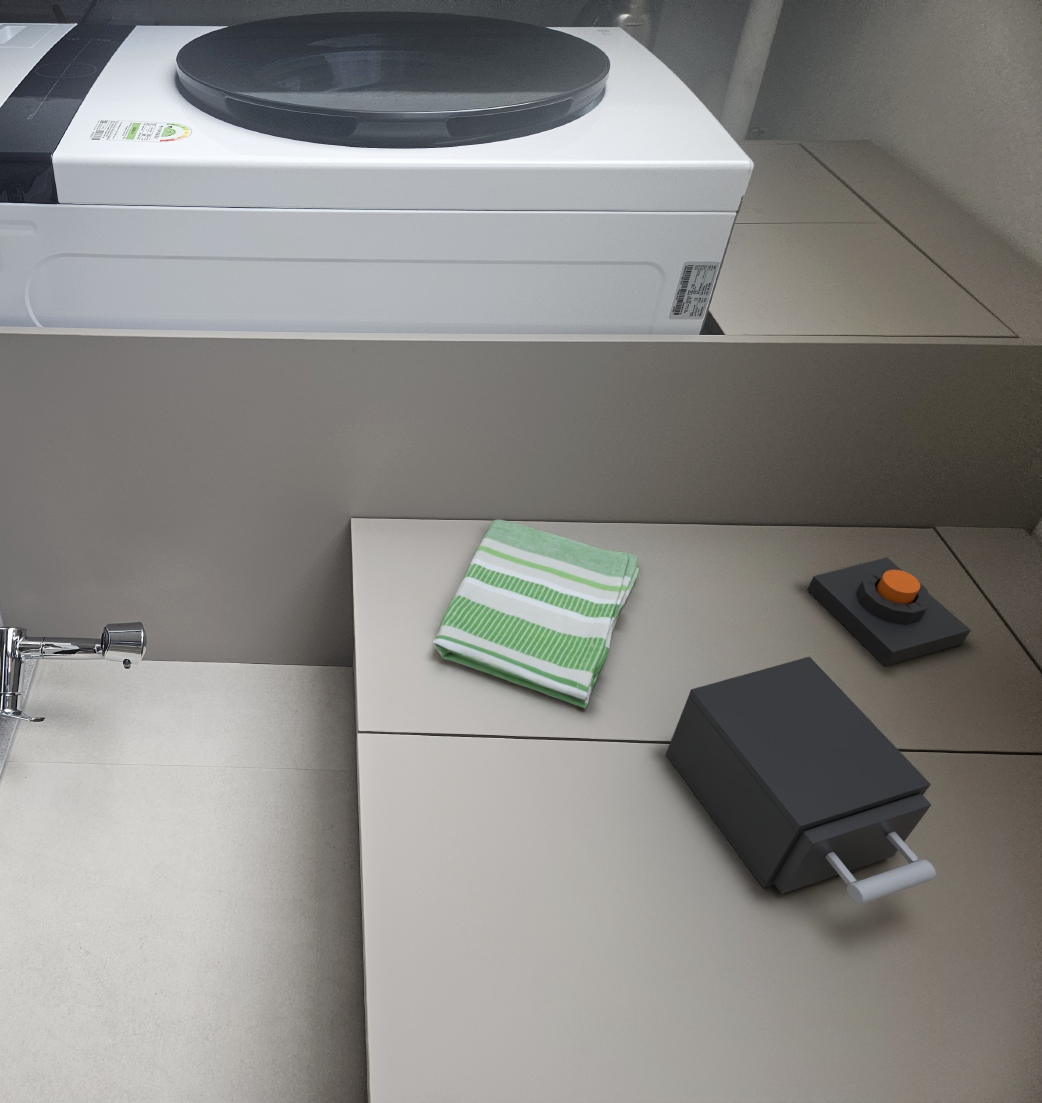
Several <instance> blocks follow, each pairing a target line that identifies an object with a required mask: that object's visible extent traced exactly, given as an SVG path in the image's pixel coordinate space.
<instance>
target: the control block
mask: <svg viewBox="0 0 1042 1103" xmlns="http://www.w3.org/2000/svg"><path fill="white" fill-rule="evenodd" d="M889 570H900V571H903V569H901V567H899V566H898V565H897V564H895V562H894V561H892V560H891V559H890V558H889V557H888V556H887V557H883V558H882V557H881V558H878V559H875V560H871V561H867V562H863V563H860V564H856V565H851V566H848V567H844V568H840V569H836V570H832V571H828V572H824V573H821V574H820V573H819V574H817V575H814V576H813V577H812V579H811V581H810V582H809V585H808V587H807V589H806V590H807V592H808V593H809V594H810V595H812V597H813V598H814V599H816V600H817V601H818V603H819V604H820V605H822V606H823V607H824V608H825V609H826V610H827V612H829V613H830V614H831V616H833V617H834V618H835V620H837V621H838V622H839V623H840V624H841V625H842V626H843V627H844V628H845V629H846V630H847V631H848V632H849V633H850V634H851V635H852V636H853V637H854V638H855V639H856V640H857V641H858V642H859V643H860V644H861V645H862V646H863V647H864V648H865V649H867V651H868V652H869V653H871V655H872V656H873V657H875V659H877V660H878V661H879V663H881V665H883V666H884V667H887V666H890V665H894V664H898V663H901V662H904V661H908V660H911V659H914V658H915V659H916V658H918V657H922V656H926V655H928V654H932V653H936V652H939V651H943V650H946V649H950V648H953V647H957V646H960V645H963V644H964V642H965V641H966V639H967V637H968V636H969V634H970V632H971V631H972V630H971V628H969V627H968V626H967V625H966V624H965V623H964V622H963V621H962V620H960V619H959V618H958V617H957V616H956V615H954V614H953V612H951V611H950V610H949V609H948V608H947V607H945V606H944V605H943V604H941V602H939V601H938V600H937V599H936V598H935V597H934V596H933V595H932V594H930V592H929V589H928V588H927V587H926V586H924V585H923V584H922V583H921V582H920V581H919V583H920V589H919V591H918V593H917V595H916V596H915V598H914V600H913V601H912V602H911V603H908V604H900V603H894V602H892V601H890V600H888V599H885V598H884V597H883V596H881V595H880V594H879V593H878V591H877V585H878V583H879V582H880V580H881V578H882V576H883V574H884V573H885V572H886V571H889Z"/></svg>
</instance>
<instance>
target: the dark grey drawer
mask: <svg viewBox="0 0 1042 1103" xmlns="http://www.w3.org/2000/svg"><path fill="white" fill-rule="evenodd" d="M931 806H932V804H931V802H930V801H929V800H928V799H927V798H926V797H925V795H922V794H921V793H919V794H916V795H913V796H910V797H907V798H904V799H901V800H898V801H894V802H891V803H888V804H887V803H885V804H882V805H878V806H875V807H872V808H869V809H866V810H863V811H860V812H857V813H854V814H851V815H848V816H844V817H841V818H838V819H835V820H832V821H829V822H826V823H823V824H820V825H817V826H813V827H810V828H807V829H805V830H804V831H803V832H802V834H801V836H800V837H799V839H798V841H797V842H796V844H795V845H794V847H793V849H792V850H791V852H790V854H789V855H788V857H787V859H786V860H785V862H784V864H783V865H782V867H781V869H780V870H779V872H778V874H777V875H776V877H775V879H774V880H773V883H774V884H775V885H774V886H775V887H776V888H777V890H778V891H779V892H780V895H781V894H786V893H789V892H792V891H795V890H798V889H800V888H804V887H806V886H807V887H808V886H809V885H812V884H816V883H819V882H822V881H824V880H827V879H830V878H833V877H836V876H840V878H841V880H843V882H844V883H845V884H846V885H847V887H846V891H847V895H848V897H849V898H850V900H851V901H852V902H853V903H854V904H856V905H864V904H867V903H870V902H872V901H876V900H878V899H881V898H884V897H887V896H890V895H893V894H896V893H899V892H902V891H904V890H907V889H910V888H913V887H916V886H919V885H921V884H925V883H927V882H930V881H933V880H934V879H936V877H937V872H936V868H935V867H934V865H933V864H932V863H931V862H930V861H929V860H926V859H923V858H922V859H919V857H918V856H917V855H916V854H915V853H914V852H913V851H912V850H911V848H910V847H909V846H908V844H906V842H905V841H906V840H907V839H908V837H909V836H910V835H911V833H912V832H913V831H914V829H915V828H916V827H917V825H918V824H919V822H920V821H921V820H922V819H923V817H924V816H925V814H926V813H927V812H928V811H929V809H930V808H931ZM897 852H899V853H900V855H901V856H902V857H903V858H904V860H906V862H907V864H904V865H902V866H899V867H895V868H892V869H890V870H887V871H884V872H880V873H878V874H874V875H872V876H869V877H867V878H864V879H863V878H862V879H861V880H857V879H856V878H855V876H854V875H853V874H852V873H851V871H854V870H857V869H859V868H863V867H865V866H868V865H872V864H874V863H878V862H881V861H883V860H886V859H889V858H893V857H894V856H895V855H896V853H897Z"/></svg>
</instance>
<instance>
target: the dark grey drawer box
mask: <svg viewBox="0 0 1042 1103" xmlns="http://www.w3.org/2000/svg"><path fill="white" fill-rule="evenodd" d="M665 755H666V757H667V758H668V759H669V761H670V762H671V764H672V765H673V766H674V768H675V769H676V770H677V772H678V773H679V774H680V776H681V777H682V779H683V780H684V781H685V783H686V784H687V786H688V787H689V788H690V790H691V791H692V793H693V794H694V795H695V797H696V798H697V800H698V801H699V802H700V803H701V805H702V806H703V808H704V809H705V811H706V812H707V813H708V814H709V816H710V817H711V819H712V820H713V821H714V823H715V825H716V826H717V827H718V828H719V830H720V831H721V833H722V834H723V836H724V837H725V838H726V840H727V841H728V842H729V843H730V845H731V847H732V848H733V849H734V850H735V852H736V854H737V855H738V856H739V857H740V859H741V860H742V862H743V863H744V865H745V866H746V867H747V869H748V870H749V871H750V873H751V874H752V875H753V876H754V878H755V880H756V881H757V882H758V884H759V885H760V886H761V888H762V889H766V888H769V887H771V886H775V884H774V883H773V880H774V879H775V877H776V875H777V874H778V872H779V870H780V869H781V867H782V865H783V864H784V862H785V860H786V859H787V857H788V855H789V854H790V852H791V850H792V849H793V847H794V845H795V844H796V842H797V841H798V839H799V837H800V836H801V834H802V832H803V831H804V830H805V829H807V828H810V827H813V826H817V825H820V824H823V823H826V822H829V821H832V820H835V819H838V818H841V817H844V816H848V815H851V814H854V813H857V812H860V811H863V810H866V809H869V808H872V807H875V806H878V805H882V804H885V803H887V804H888V803H891V802H894V801H898V800H901V799H904V798H907V797H910V796H913V795H916V794H919V793H921V794H922V795H923V796H925V795H924V794H926V793H927V790H928V789H929V788H930V786H931V785H932V784H931V783H930V781H928V779H927V778H926V777H925V775H923V774H922V773H921V772H920V771H919V770H918V769H917V768H916V767H915V766H914V764H912V763H911V761H909V759H908V758H906V756H905V755H904V754H903V753H902V752H901V751H900V750H899V749H898V747H897V746H895V744H894V743H893V742H892V741H891V740H890V739H889V738H888V737H887V736H886V735H885V734H884V733H883V732H882V731H881V730H880V729H879V727H877V726H876V724H874V723H873V721H872V720H871V719H870V718H869V717H868V716H866V714H865V713H864V712H863V711H862V710H861V709H860V708H859V707H858V706H857V705H856V703H855V702H853V701H852V699H851V698H850V697H849V696H848V695H847V694H846V693H845V692H844V691H843V690H842V689H841V688H840V687H839V686H838V684H836V683H835V681H833V679H832V678H831V677H830V676H829V675H828V674H827V673H826V672H825V671H824V670H823V669H822V668H821V667H820V666H819V665H818V664H817V663H816V662H815V660H814V659H813V658H812V657H811V656H805V657H803V658H799V659H795V660H792V661H788V662H785V663H781V664H778V665H774V666H770V667H766V668H762V669H760V670H756V671H751V672H748V673H744V674H741V675H738V676H734V677H731V678H728V679H727V678H726V679H724V680H720V681H716V682H713V683H709V684H705V685H702V686H701V685H700V686H698V687H694V688H691V689H690V691H689V694H688V695H687V699H686V702H685V703H684V706H683V709H682V711H681V714H680V717H679V719H678V721H677V724H676V726H675V729H674V732H673V735H672V737H671V740H670V741H669V744H668V747H667V750H666V753H665Z"/></svg>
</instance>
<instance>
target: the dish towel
mask: <svg viewBox="0 0 1042 1103" xmlns="http://www.w3.org/2000/svg"><path fill="white" fill-rule="evenodd" d="M638 561H639V558H638V556H636V555H634V554H632V553H629V552H625V551H624V552H623V551H616V550H609V549H602V548H600V547H595V546H592V545H589V544H586V543H584V542H580V541H577V540H575V539H570V538H568V537H564V536H562V535H558V534H554V533H551V532H547V531H544V530H540V529H537V528H534V527H531V526H529V525H526V524H522V523H519V522H513V521H508V520H504V519H494V520H492V522H491V523H490V525H489V527H488V530H487V531H486V533H485V535H484V536H483V538H482V540H481V542H480V544H479V546H478V547H477V550H476V551H475V554H474V556H473V558H472V559H471V561H470V564H469V565H468V567H467V569H466V572H465V574H464V577H463V579H462V581H461V582H460V583H459V586H458V588H457V590H456V592H455V594H454V596H453V597H452V598H451V601H450V602H449V604H448V606H447V609H446V611H445V613H444V615H443V616H442V619H441V621H440V624H439V630H438V632H437V634H436V636H435V638H434V640H433V641H432V646H433V647H434V648H435V649H436V651H437V652H438V653H439V656H440V657H441V658H442V659H443V660H448V661H450V662H454V663H457V664H459V665H463V666H466V667H468V668H472V669H474V670H477V671H480V672H483V673H486V674H489V675H492V676H493V677H497V678H498V679H502V680H504V681H507V682H510V683H513V684H516V685H519V686H521V687H525V688H527V689H531V690H534V691H537V692H539V693H542V694H544V695H546V696H548V697H552V698H555V699H558V700H560V701H564V702H567V703H569V704H572V705H574V706H576V707H580V708H583V709H586V708H587V706H588V704H589V700H590V696H591V694H592V692H593V688H594V686H595V684H596V681H597V678H598V676H599V673H600V671H601V669H602V667H603V665H604V663H605V661H606V659H607V656H608V653H609V651H610V646H611V640H612V635H613V632H614V630H615V627H616V624H617V621H618V618H619V614H620V611H621V609H622V607H624V605H625V603H626V601H627V599H628V598H629V596H630V593H631V591H632V589H633V587H634V584H635V582H636V579H637V578H638V575H639V572H640V568H639V567H638V566H637V565H638Z"/></svg>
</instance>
